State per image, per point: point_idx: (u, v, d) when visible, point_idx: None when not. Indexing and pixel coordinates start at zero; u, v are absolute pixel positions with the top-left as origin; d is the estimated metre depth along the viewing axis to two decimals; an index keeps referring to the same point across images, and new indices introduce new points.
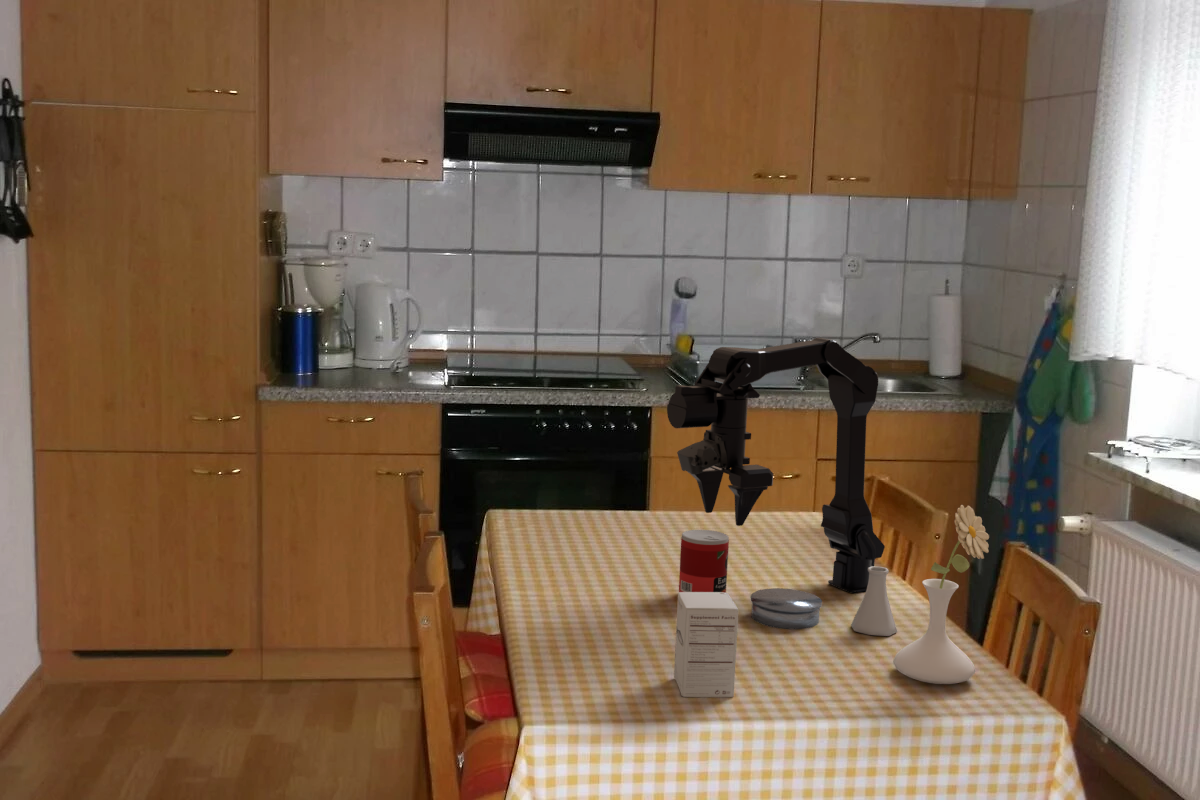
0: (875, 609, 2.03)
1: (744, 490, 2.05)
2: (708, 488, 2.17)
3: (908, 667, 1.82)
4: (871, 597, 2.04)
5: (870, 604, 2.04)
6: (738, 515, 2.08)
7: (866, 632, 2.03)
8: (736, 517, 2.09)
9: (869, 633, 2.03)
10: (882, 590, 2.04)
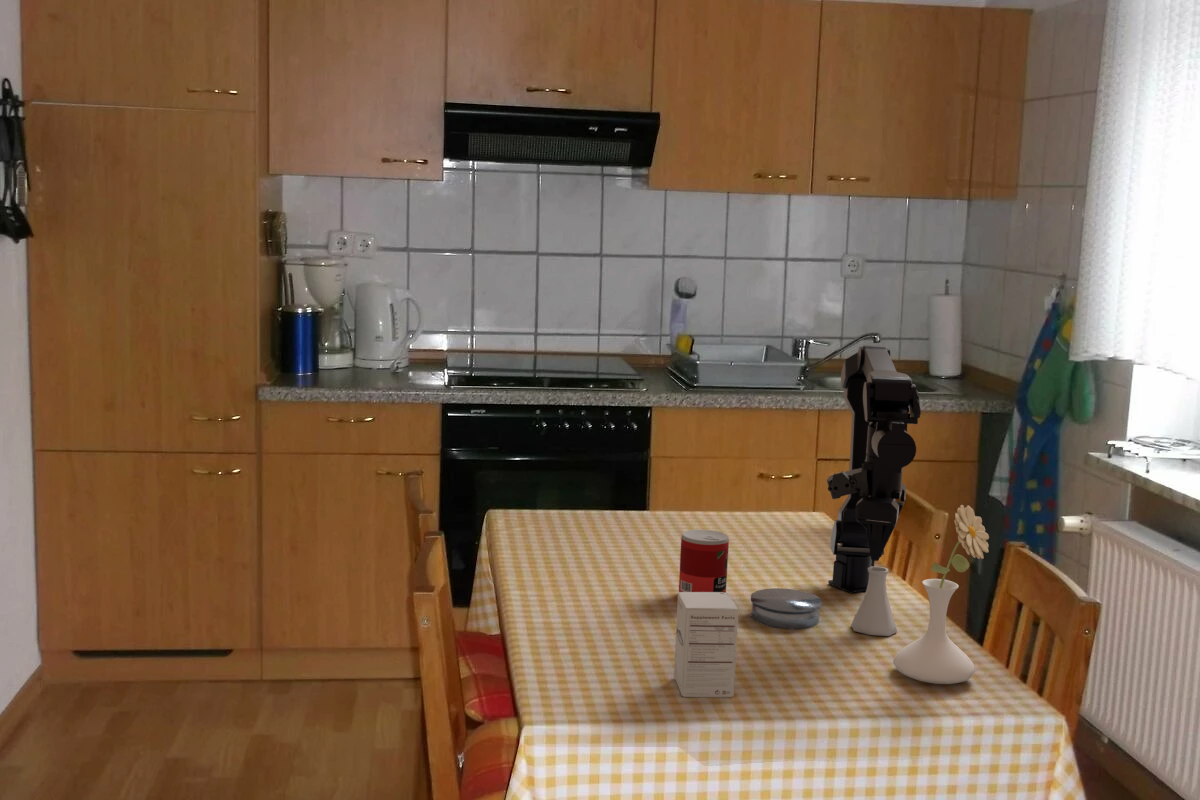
0: (875, 609, 2.03)
1: (863, 522, 1.96)
2: None
3: (908, 667, 1.82)
4: (871, 597, 2.04)
5: (870, 604, 2.04)
6: (870, 549, 1.99)
7: (866, 632, 2.03)
8: (870, 551, 2.00)
9: (869, 633, 2.03)
10: (882, 590, 2.04)
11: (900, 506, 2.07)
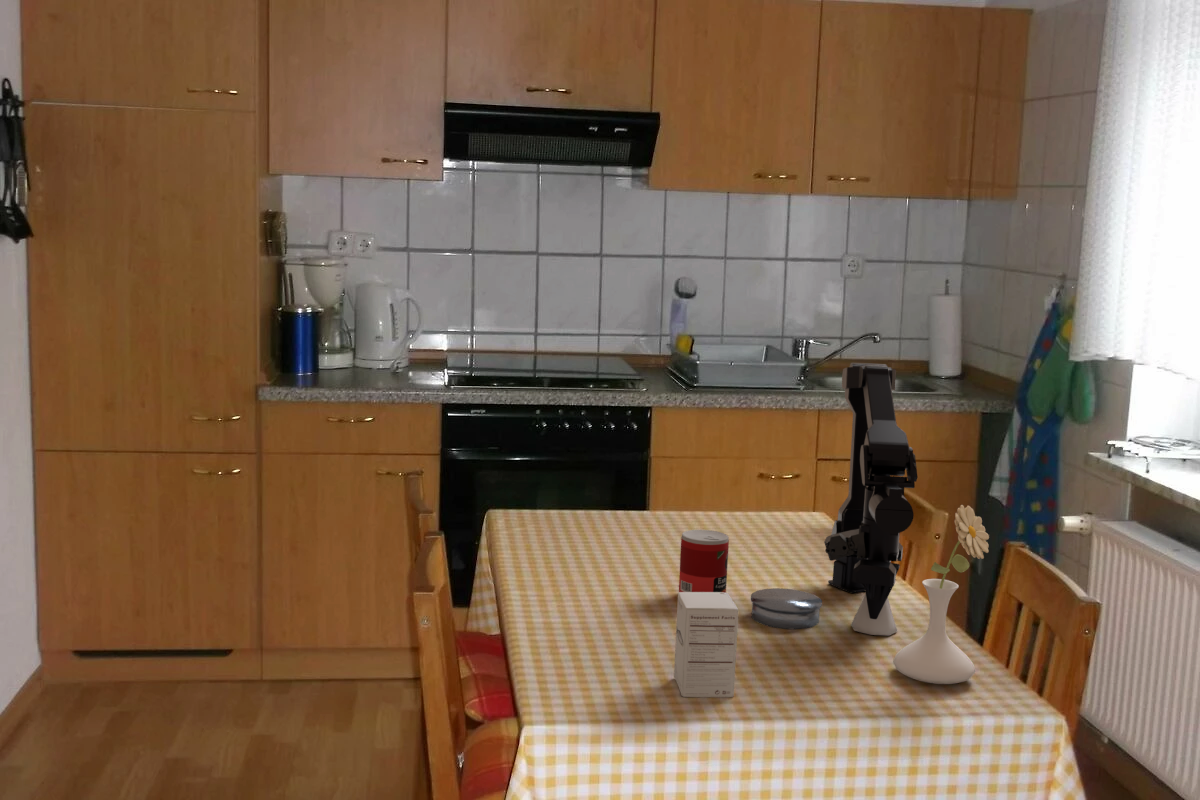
0: None
1: None
2: None
3: (908, 667, 1.82)
4: None
5: None
6: (868, 607, 2.02)
7: (866, 632, 2.03)
8: None
9: (869, 633, 2.03)
10: None
11: (896, 569, 2.07)
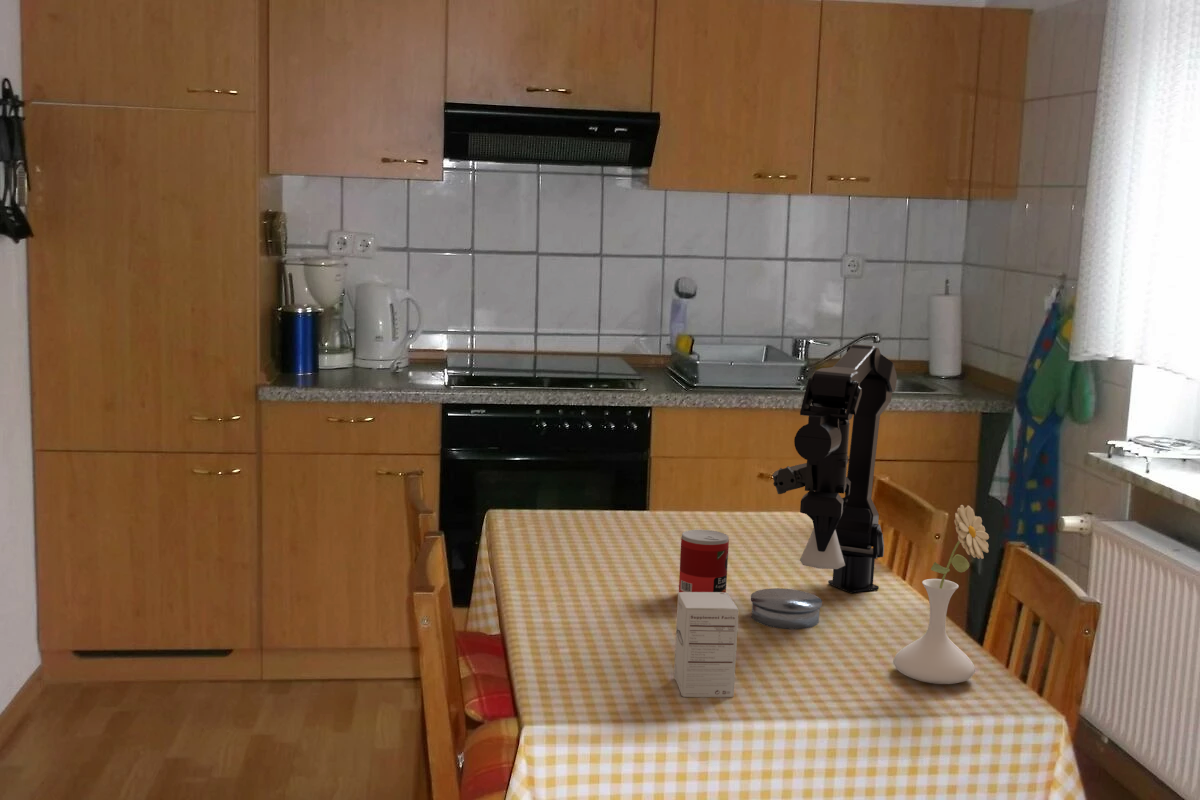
0: None
1: (810, 513, 2.00)
2: None
3: (908, 667, 1.82)
4: None
5: None
6: (816, 540, 2.03)
7: (814, 566, 2.04)
8: None
9: (817, 567, 2.04)
10: None
11: (844, 503, 2.08)
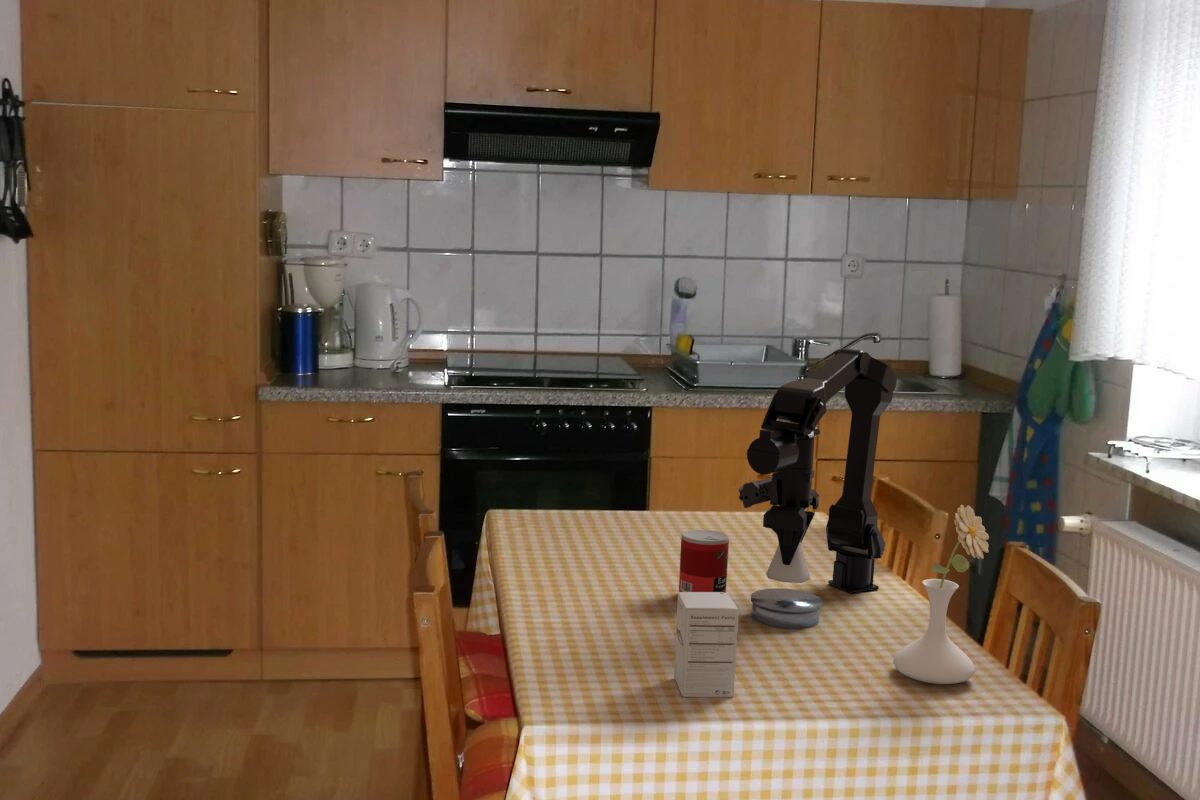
0: None
1: None
2: None
3: (908, 667, 1.82)
4: None
5: None
6: (781, 553, 2.06)
7: (779, 579, 2.06)
8: None
9: (782, 580, 2.06)
10: None
11: (810, 517, 2.10)
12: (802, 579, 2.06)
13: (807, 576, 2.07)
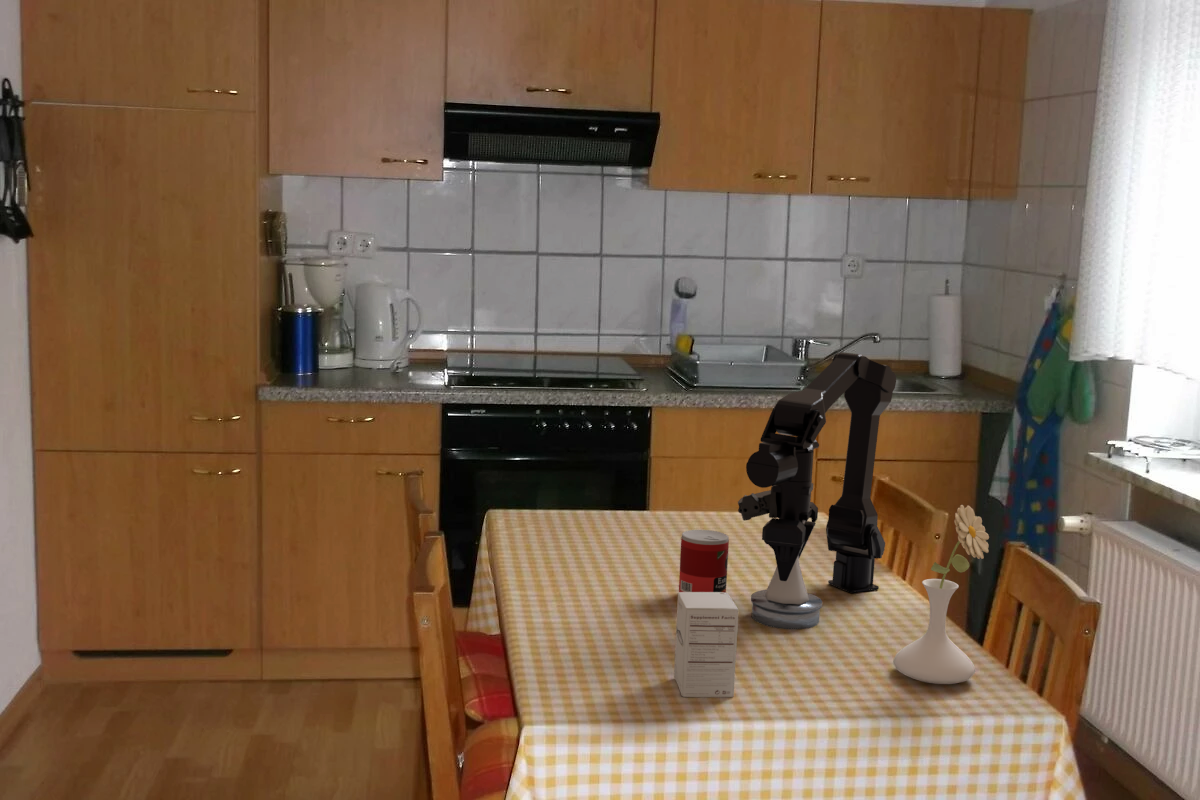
0: None
1: (771, 543, 2.01)
2: None
3: (908, 667, 1.82)
4: None
5: None
6: (778, 569, 2.04)
7: (778, 600, 2.07)
8: None
9: (781, 601, 2.06)
10: None
11: (811, 527, 2.12)
12: (801, 600, 2.07)
13: (806, 597, 2.08)
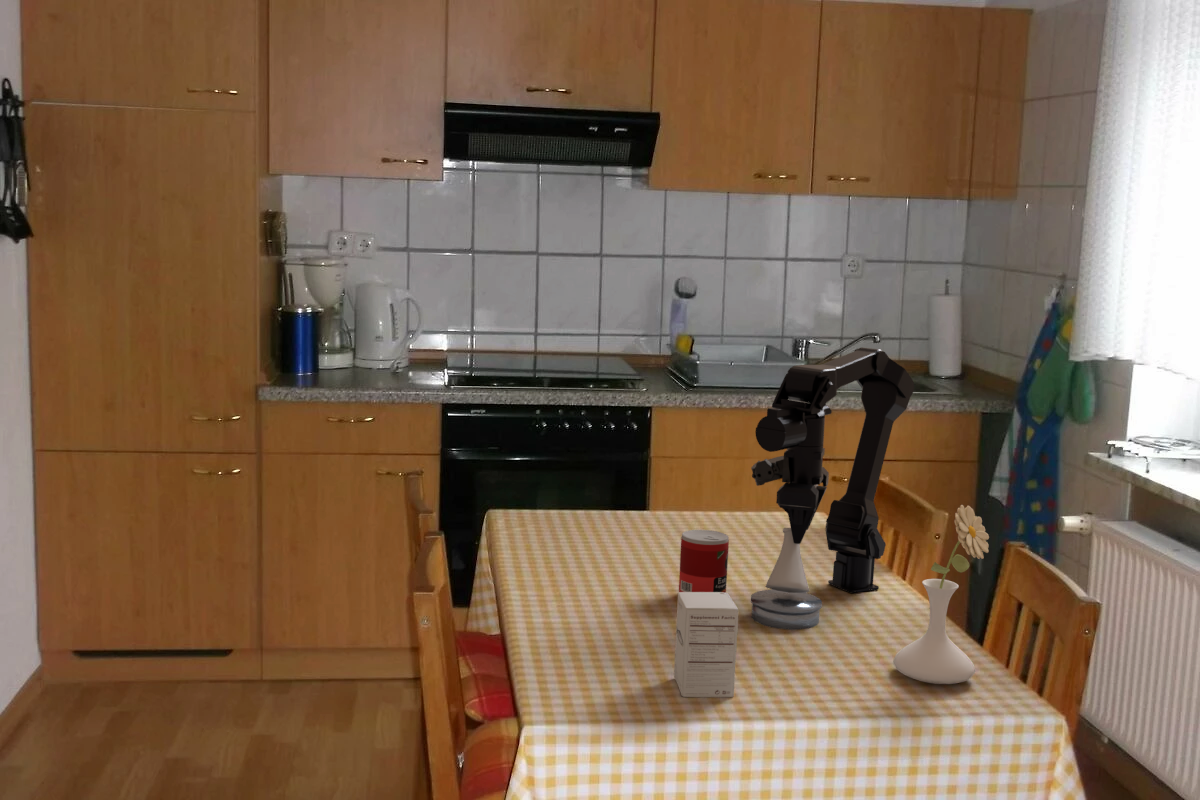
0: (787, 564, 2.08)
1: (785, 507, 2.06)
2: None
3: (908, 667, 1.82)
4: (785, 553, 2.10)
5: (783, 559, 2.09)
6: (792, 532, 2.09)
7: (778, 584, 2.07)
8: None
9: (781, 584, 2.07)
10: (795, 547, 2.10)
11: (822, 491, 2.17)
12: (801, 585, 2.07)
13: (806, 586, 2.08)
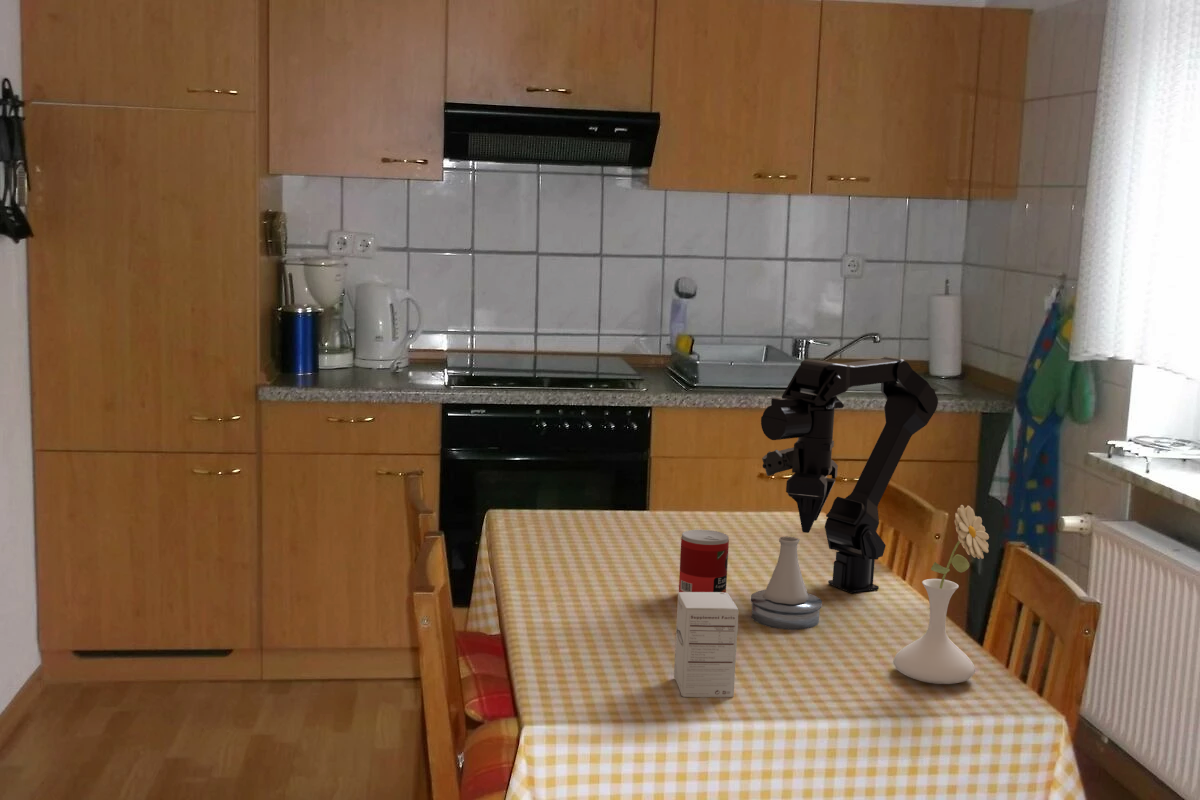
0: (781, 578, 2.07)
1: (794, 496, 2.12)
2: None
3: (908, 667, 1.82)
4: (780, 566, 2.08)
5: (778, 572, 2.08)
6: (801, 521, 2.15)
7: (771, 599, 2.07)
8: (801, 523, 2.15)
9: (773, 600, 2.07)
10: (790, 560, 2.07)
11: (831, 483, 2.23)
12: (794, 601, 2.06)
13: (801, 598, 2.07)
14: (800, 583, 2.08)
